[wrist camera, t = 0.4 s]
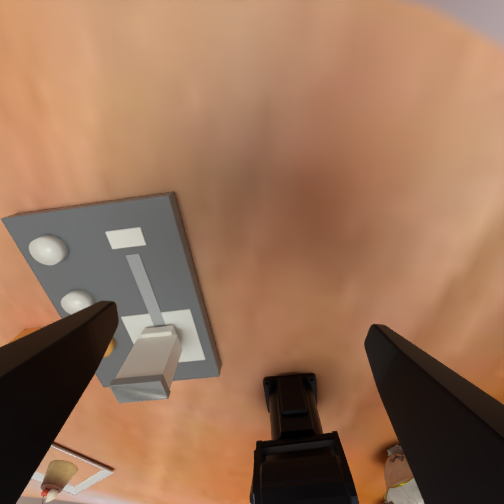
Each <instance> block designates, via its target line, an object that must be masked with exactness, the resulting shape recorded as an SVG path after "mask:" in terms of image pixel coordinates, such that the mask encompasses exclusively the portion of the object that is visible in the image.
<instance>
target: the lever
mask: <svg viewBox="0 0 504 504" xmlns="http://www.w3.org/2000/svg"><path fill="white" fill-rule="evenodd" d="M141 336H142V338H141V339H137V341H136V342H135V344H134V346H133V348H132V349H131V351H130V353H129V355H128V357H127V358H126V360H125V362H124V364H123V365H122V367H121V369H120V371H119V372H118V374H117V376H116V378H115V379H112V381H111V383H110V385H109V387H110V389H111V390H112V392H113V394H114V395H115V397H116V399H117V400H118V402H119V403H127V402H138V401H149V400H160V399H168V398H169V395H170V390H169V389H170V386H171V383H172V380H173V377H174V374H175V371H176V368H177V365H178V362H179V359H180V355H181V352H182V347H181V344H180V341H179V338H178V336H177V335H176V332H175V329H174V326H163V327H154V328H145V329H144V330H143V331H142V333H141Z"/></svg>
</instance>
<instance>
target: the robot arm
mask: <svg viewBox="0 0 504 504" xmlns="http://www.w3.org/2000/svg"><path fill="white" fill-rule="evenodd" d="M118 324H119V317H118V311H117V305H116V303H115V302H114V301H106V300H102V301H99V302H97V303H95V304H93V305H91V306H89V307H86V308H84V309H82V310H80V311H78V312H76V313H73V314H71V315H69V316H67V317H65V318H63V319H60V320H58V321H56V322H54V323H52V324H50V325H47V326H45V327H43V328H41V329H39V330H37V331H34V332H32V333H30V334H28V335H26V336H24V337H21V338H19V339H17V340H15V341H13V342H11V343H9V344H6V345H4V346H2V347H0V504H16V502H17V501H18V499H19V498H20V496H21V494H22V493H23V491H24V489H25V488H26V486H27V484H28V483H29V481H30V479H31V478H32V476H33V475H34V473H35V471H36V470H37V468H38V466H39V465H40V463H41V461H42V460H43V458H44V456H45V455H46V453H47V451H48V450H49V448H50V447H51V445H52V443H53V442H54V440H55V438H56V437H57V435H58V433H59V432H60V430H61V428H62V427H63V425H64V424H65V422H66V420H67V419H68V417H69V415H70V414H71V412H72V410H73V409H74V407H75V405H76V404H77V402H78V401H79V399H80V397H81V396H82V394H83V392H84V391H85V389H86V387H87V386H88V384H89V382H90V381H91V379H92V378H93V376H94V374H95V372H96V371H97V369H98V367H99V365H100V363H101V361H102V359H103V357H104V355H105V353H106V351H107V348H108V346H109V344H110V342H111V340H112V338H113V336H114V334H115V332H116V330H117V327H118ZM364 346H365V350H366V353H367V357H368V360H369V363H370V367H371V370H372V373H373V377H374V380H375V383H376V386H377V389H378V392H379V394H380V397H381V399H382V402H383V404H384V407H385V409H386V412H387V414H388V416H389V419H390V421H391V424H392V426H393V428H394V431H395V433H396V436H397V438H398V441H399V443H400V445H401V448H402V450H403V453H404V455H405V458H406V460H407V462H408V465H409V467H410V470H411V472H412V474H413V477H414V479H415V482H416V484H417V487H418V489H419V491H420V494H421V496H422V499H423V501H424V504H504V405H503V404H502V403H500V402H499V401H498V400H496V399H495V398H493V397H492V396H490V395H489V394H487V393H486V392H484V391H483V390H481V389H480V388H478V387H477V386H475V385H474V384H472V383H471V382H469V381H468V380H466V379H465V378H463V377H462V376H460V375H459V374H457V373H456V372H454V371H453V370H451V369H450V368H448V367H447V366H445V365H444V364H442V363H441V362H439V361H438V360H436V359H435V358H433V357H432V356H430V355H429V354H427V353H426V352H424V351H423V350H421V349H420V348H418V347H417V346H415V345H414V344H412V343H411V342H409V341H408V340H406V339H405V338H403V337H402V336H400V335H399V334H397V333H396V332H394V331H393V330H391V329H390V328H389V327H387V326H385V325H381V324H373V325H371V327H370V329H369V331H368V334H367V336H366V339H365V343H364ZM263 385H264V391H265V397H266V403H267V408H268V412H269V413H270V422H271V437H272V440H269V441H262V440H261V441H257V442H256V449H255V451H254V471H253V479H252V485H251V491H250V503H251V504H359V501H358V497H357V493H356V489H355V485H354V482H353V478H352V475H351V472H350V469H349V466H348V463H347V460H346V457H345V454H344V451H343V448H342V445H341V442H340V439H339V436H338V433H337V431H332V433H324V434H323V430H322V426H321V422H320V418H319V414H318V410H317V389H316V376H315V375H314V374H304V375H293V376H282V377H272V378H265V379H264V380H263Z"/></svg>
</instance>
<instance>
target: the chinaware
mask: <svg viewBox="0 0 504 504" xmlns="http://www.w3.org/2000/svg"><path fill="white" fill-rule="evenodd" d="M386 450H388V455H387V456H389V457H388V458H387V460H386V463H385V467H384V477H385V482H386V493H385V494H384V499H385V500H386V501H385V502H384V503H388V504H424V501H423V499H422V496H421V494H420V491H419V489H418V487H417V484H416V482H415V479H414V477H413V474H412V472H411V470H410V467H409V465H408V462H407V460H406V458H405V455H404V453H403V450H402V448H401V446H398V445H396V446H394V447H392V448H390V449H386Z"/></svg>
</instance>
